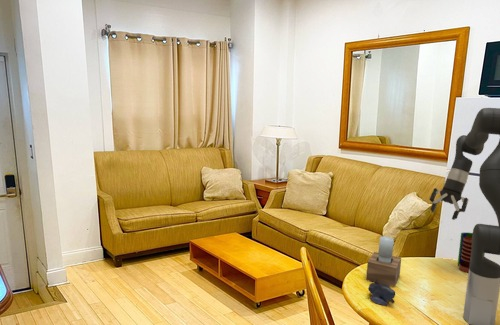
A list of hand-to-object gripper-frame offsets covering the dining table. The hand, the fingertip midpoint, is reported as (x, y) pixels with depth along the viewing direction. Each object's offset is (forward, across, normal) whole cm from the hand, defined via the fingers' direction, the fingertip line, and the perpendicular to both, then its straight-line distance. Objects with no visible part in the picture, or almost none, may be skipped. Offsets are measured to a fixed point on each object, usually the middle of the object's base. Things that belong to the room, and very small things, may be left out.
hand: (442, 215), depth 165 cm
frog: (+39, -2, -33) cm, 51 cm away
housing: (+33, -9, -16) cm, 38 cm away
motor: (+18, +14, +17) cm, 29 cm away
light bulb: (+30, -9, -17) cm, 36 cm away
